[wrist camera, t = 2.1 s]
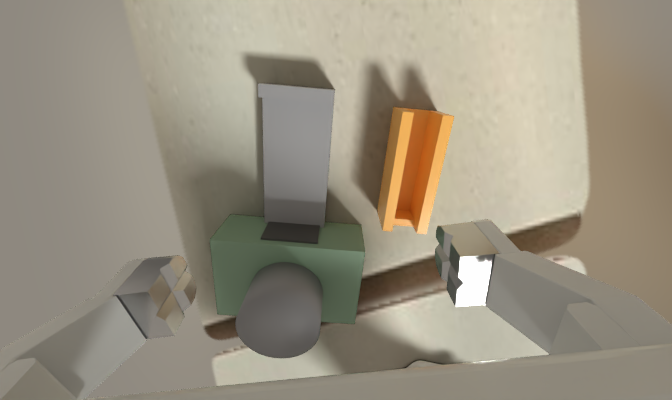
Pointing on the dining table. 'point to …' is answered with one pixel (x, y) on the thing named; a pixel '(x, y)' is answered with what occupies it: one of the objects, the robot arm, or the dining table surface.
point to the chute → (412, 167)
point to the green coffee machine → (289, 235)
